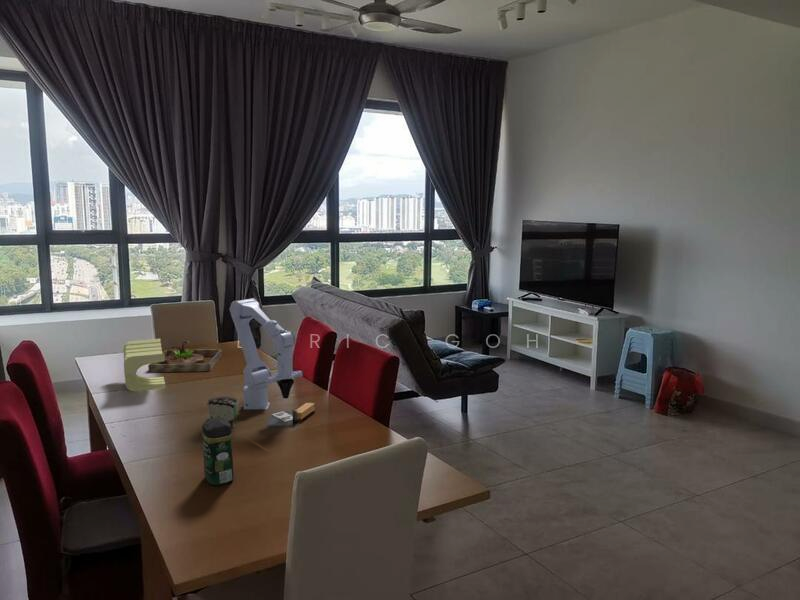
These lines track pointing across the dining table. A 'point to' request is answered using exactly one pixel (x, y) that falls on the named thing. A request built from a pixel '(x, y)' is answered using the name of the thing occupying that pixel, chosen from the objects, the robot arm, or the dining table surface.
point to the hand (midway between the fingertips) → (285, 397)
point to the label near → (286, 418)
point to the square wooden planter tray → (187, 367)
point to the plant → (184, 357)
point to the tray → (277, 422)
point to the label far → (280, 414)
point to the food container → (224, 409)
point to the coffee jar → (217, 451)
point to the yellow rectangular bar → (305, 410)
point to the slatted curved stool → (138, 356)
